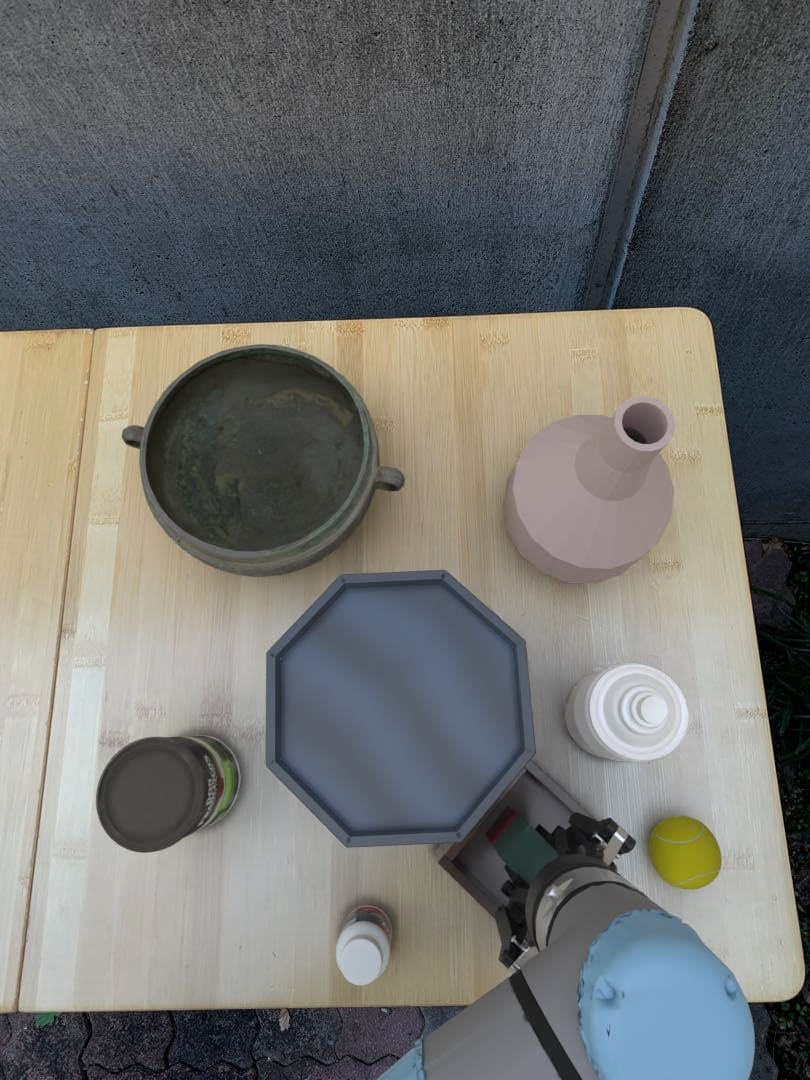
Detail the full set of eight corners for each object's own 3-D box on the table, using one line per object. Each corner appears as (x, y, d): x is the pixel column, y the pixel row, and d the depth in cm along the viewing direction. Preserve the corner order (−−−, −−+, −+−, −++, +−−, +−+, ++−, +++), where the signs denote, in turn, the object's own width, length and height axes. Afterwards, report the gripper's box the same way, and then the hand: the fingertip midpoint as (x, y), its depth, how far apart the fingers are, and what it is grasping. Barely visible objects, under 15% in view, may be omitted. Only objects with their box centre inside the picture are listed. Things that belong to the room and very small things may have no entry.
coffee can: (244, 734, 79) (209, 737, 65) (237, 829, 76) (199, 854, 63) (156, 732, 79) (102, 736, 65) (146, 828, 76) (88, 852, 63)
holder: (518, 931, 73) (528, 952, 67) (435, 849, 75) (437, 862, 69) (599, 828, 76) (617, 839, 69) (516, 752, 78) (526, 755, 71)
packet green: (541, 892, 67) (555, 912, 60) (492, 844, 68) (500, 859, 61) (567, 860, 68) (584, 875, 61) (518, 813, 69) (529, 824, 62)
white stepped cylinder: (571, 783, 77) (642, 813, 53) (527, 696, 79) (576, 686, 55) (660, 738, 78) (770, 747, 54) (614, 653, 81) (699, 625, 56)
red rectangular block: (529, 876, 74) (541, 892, 67) (484, 834, 75) (491, 845, 68) (552, 847, 75) (566, 860, 68) (508, 805, 76) (517, 814, 69)
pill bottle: (402, 925, 74) (400, 955, 64) (373, 970, 72) (366, 1008, 63) (362, 893, 74) (354, 918, 65) (332, 937, 73) (320, 969, 64)
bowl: (423, 417, 89) (424, 358, 74) (386, 613, 82) (380, 591, 68) (184, 379, 90) (140, 315, 76) (130, 568, 84) (71, 537, 70)
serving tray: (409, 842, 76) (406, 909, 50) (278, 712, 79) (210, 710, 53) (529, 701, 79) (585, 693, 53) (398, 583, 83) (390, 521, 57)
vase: (633, 459, 87) (742, 329, 58) (641, 595, 82) (764, 529, 53) (495, 455, 87) (535, 325, 58) (496, 591, 83) (539, 524, 54)
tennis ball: (631, 822, 76) (652, 833, 69) (689, 804, 76) (716, 812, 69) (654, 888, 74) (678, 906, 67) (714, 869, 74) (744, 885, 68)
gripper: (626, 783, 46) (557, 761, 69) (460, 992, 43) (446, 896, 66) (717, 864, 45) (616, 814, 67) (552, 1086, 42) (505, 956, 64)
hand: (532, 855), depth 66 cm, fingers closed on packet green, 4 cm apart
